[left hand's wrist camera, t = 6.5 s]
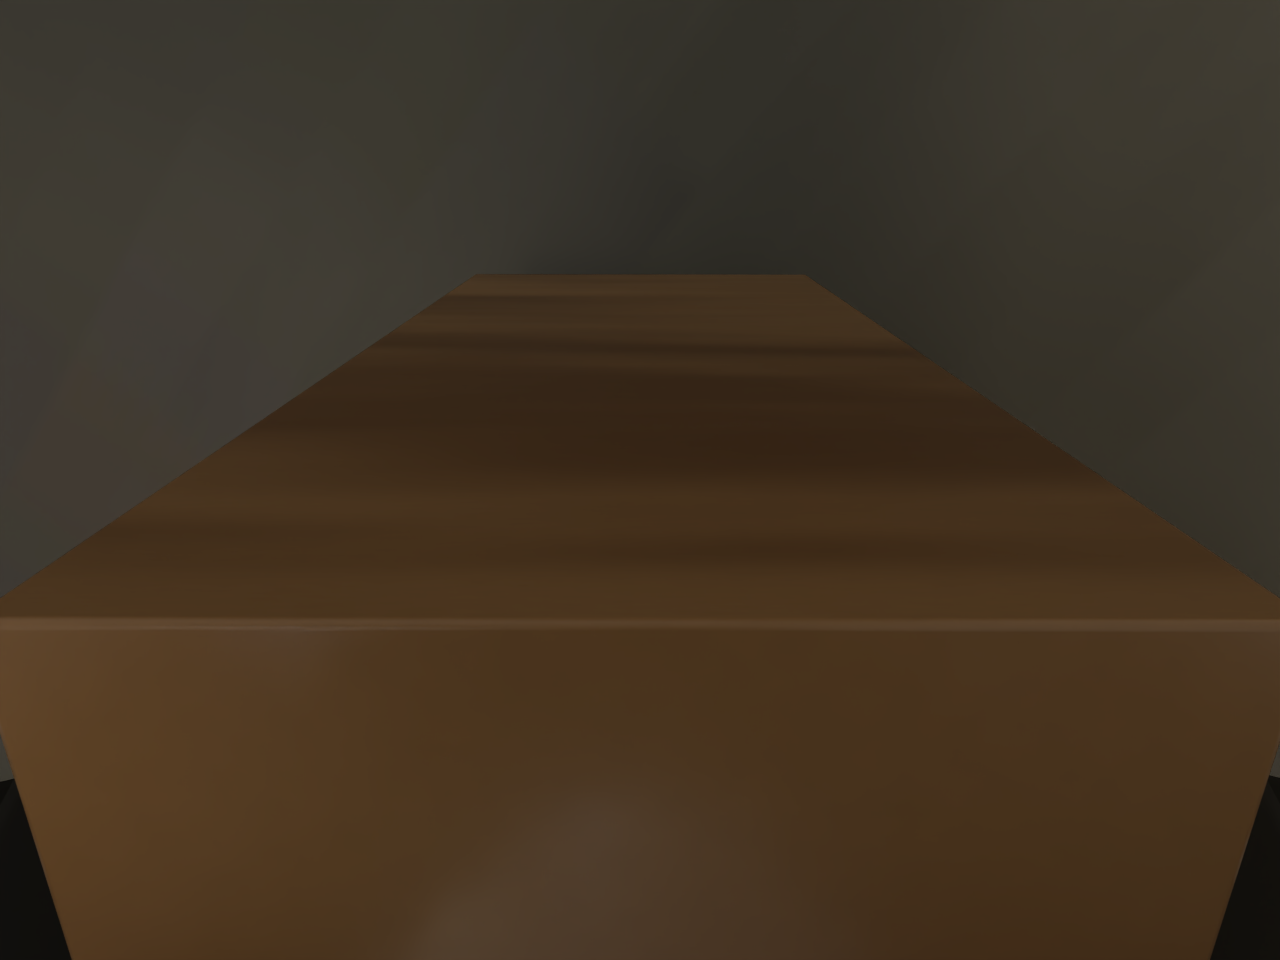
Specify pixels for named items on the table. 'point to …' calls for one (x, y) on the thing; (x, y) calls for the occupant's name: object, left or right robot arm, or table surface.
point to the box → (640, 662)
